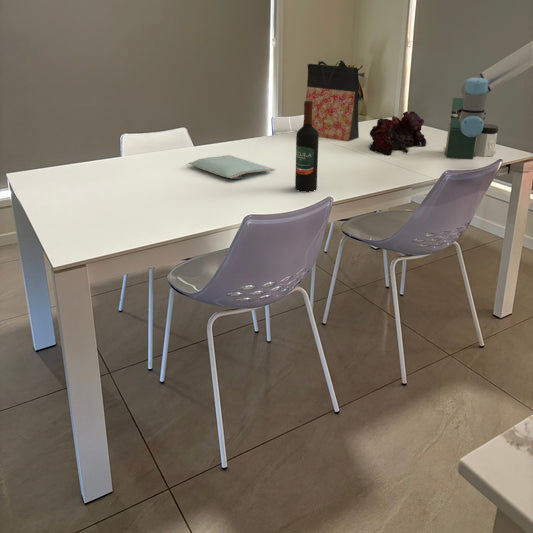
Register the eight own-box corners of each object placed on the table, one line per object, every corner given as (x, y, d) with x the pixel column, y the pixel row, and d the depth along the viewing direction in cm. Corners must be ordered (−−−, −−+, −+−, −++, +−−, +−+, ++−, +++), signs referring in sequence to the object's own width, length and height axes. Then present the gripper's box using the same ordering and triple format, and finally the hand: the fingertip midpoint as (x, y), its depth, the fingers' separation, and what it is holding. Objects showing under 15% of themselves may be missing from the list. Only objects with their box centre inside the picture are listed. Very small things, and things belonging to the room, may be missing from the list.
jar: (479, 157, 246) (483, 128, 241) (469, 152, 253) (473, 124, 248) (498, 155, 248) (503, 127, 243) (487, 151, 255) (492, 123, 250)
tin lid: (452, 98, 243) (453, 97, 242) (479, 99, 241) (480, 98, 240) (450, 128, 241) (450, 127, 240) (477, 130, 238) (477, 129, 238)
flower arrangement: (396, 157, 246) (400, 121, 240) (357, 149, 258) (359, 114, 252) (433, 144, 267) (437, 110, 261) (395, 137, 279) (398, 105, 273)
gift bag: (298, 135, 284) (300, 58, 269) (314, 129, 294) (317, 56, 279) (352, 143, 268) (357, 62, 253) (366, 137, 278) (372, 60, 263)
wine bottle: (321, 189, 206) (324, 102, 194) (304, 193, 202) (306, 104, 190) (307, 184, 212) (310, 98, 199) (290, 187, 208) (292, 101, 195)
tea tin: (445, 150, 256) (449, 123, 251) (470, 151, 254) (474, 124, 249) (446, 157, 245) (450, 129, 240) (472, 159, 243) (477, 130, 238)
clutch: (228, 162, 245) (187, 166, 232) (228, 151, 243) (187, 155, 230) (272, 176, 225) (231, 182, 213) (273, 165, 224) (231, 170, 211)
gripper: (449, 128, 222) (447, 116, 242) (486, 130, 219) (480, 117, 239) (452, 108, 218) (450, 97, 239) (489, 109, 216) (483, 99, 236)
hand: (465, 107), depth 239 cm, fingers closed
